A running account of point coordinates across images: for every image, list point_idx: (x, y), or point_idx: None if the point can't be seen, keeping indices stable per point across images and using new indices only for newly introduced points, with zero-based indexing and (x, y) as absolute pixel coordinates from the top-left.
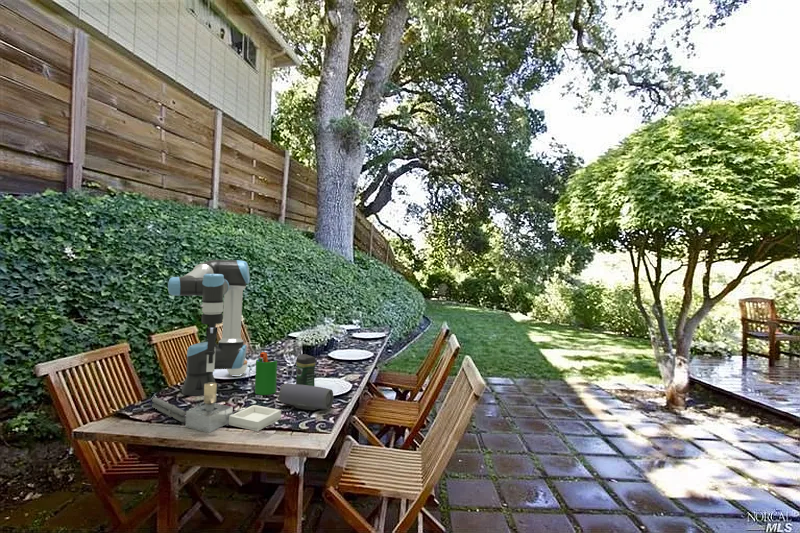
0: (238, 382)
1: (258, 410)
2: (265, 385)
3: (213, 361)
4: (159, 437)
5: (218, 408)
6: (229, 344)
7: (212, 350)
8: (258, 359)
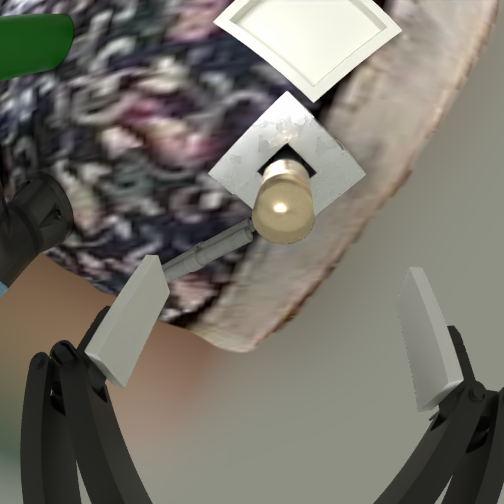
0: (4, 134)
1: (245, 9)
2: (52, 34)
3: (443, 330)
4: (333, 263)
5: (288, 142)
6: None
7: (446, 423)
8: None
